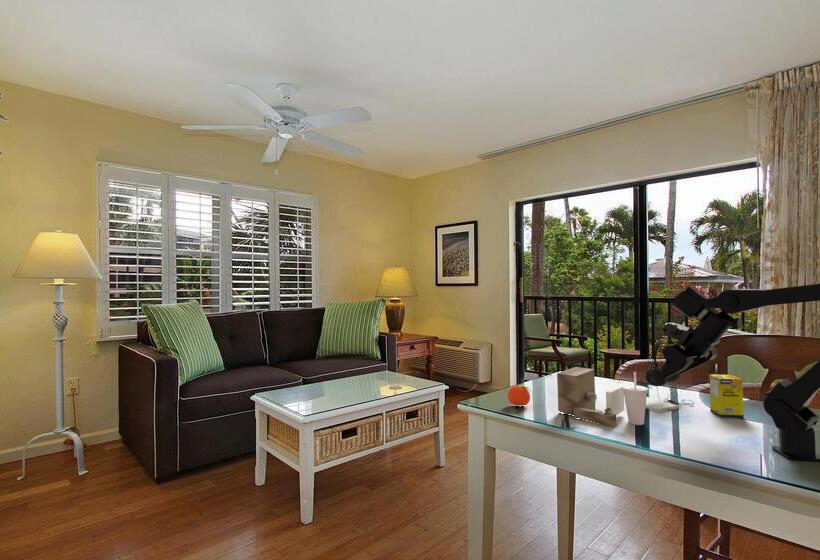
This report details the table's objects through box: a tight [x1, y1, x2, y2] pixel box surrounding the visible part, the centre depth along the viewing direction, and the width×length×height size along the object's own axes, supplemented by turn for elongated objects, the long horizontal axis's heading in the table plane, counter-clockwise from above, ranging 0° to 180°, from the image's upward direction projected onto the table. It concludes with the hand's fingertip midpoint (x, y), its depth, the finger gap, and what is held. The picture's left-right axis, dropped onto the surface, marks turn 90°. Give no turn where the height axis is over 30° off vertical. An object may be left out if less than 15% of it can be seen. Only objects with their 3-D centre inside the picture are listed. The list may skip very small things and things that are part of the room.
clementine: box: [507, 384, 534, 406], centre depth 136 cm, size 8×7×7 cm
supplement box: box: [708, 373, 745, 419], centre depth 123 cm, size 6×6×11 cm
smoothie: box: [622, 371, 649, 426], centre depth 118 cm, size 6×6×14 cm
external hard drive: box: [645, 396, 680, 413], centre depth 134 cm, size 2×8×12 cm
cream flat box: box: [604, 385, 625, 416], centre depth 121 cm, size 2×11×7 cm, turn 134°
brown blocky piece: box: [556, 366, 618, 428], centre depth 126 cm, size 16×14×12 cm
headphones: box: [645, 338, 694, 407], centre depth 136 cm, size 15×11×20 cm
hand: (670, 375), depth 116 cm, fingers open, 9 cm apart
